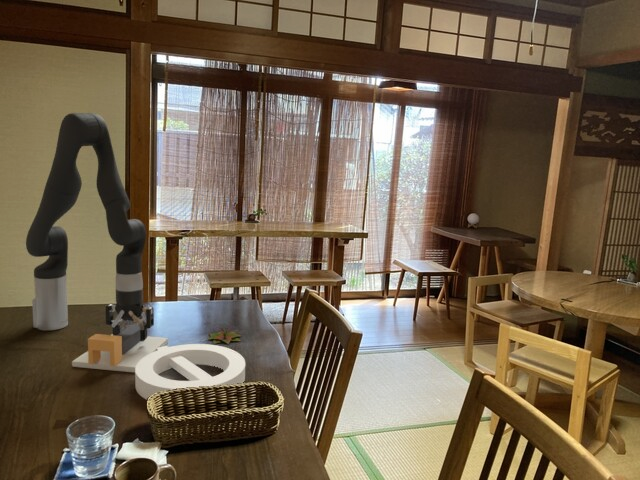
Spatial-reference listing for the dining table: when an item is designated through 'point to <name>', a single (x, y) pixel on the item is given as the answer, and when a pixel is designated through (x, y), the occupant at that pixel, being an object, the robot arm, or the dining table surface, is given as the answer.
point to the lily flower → (224, 334)
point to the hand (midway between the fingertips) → (130, 339)
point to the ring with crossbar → (188, 367)
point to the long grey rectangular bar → (130, 337)
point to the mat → (123, 356)
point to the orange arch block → (105, 348)
